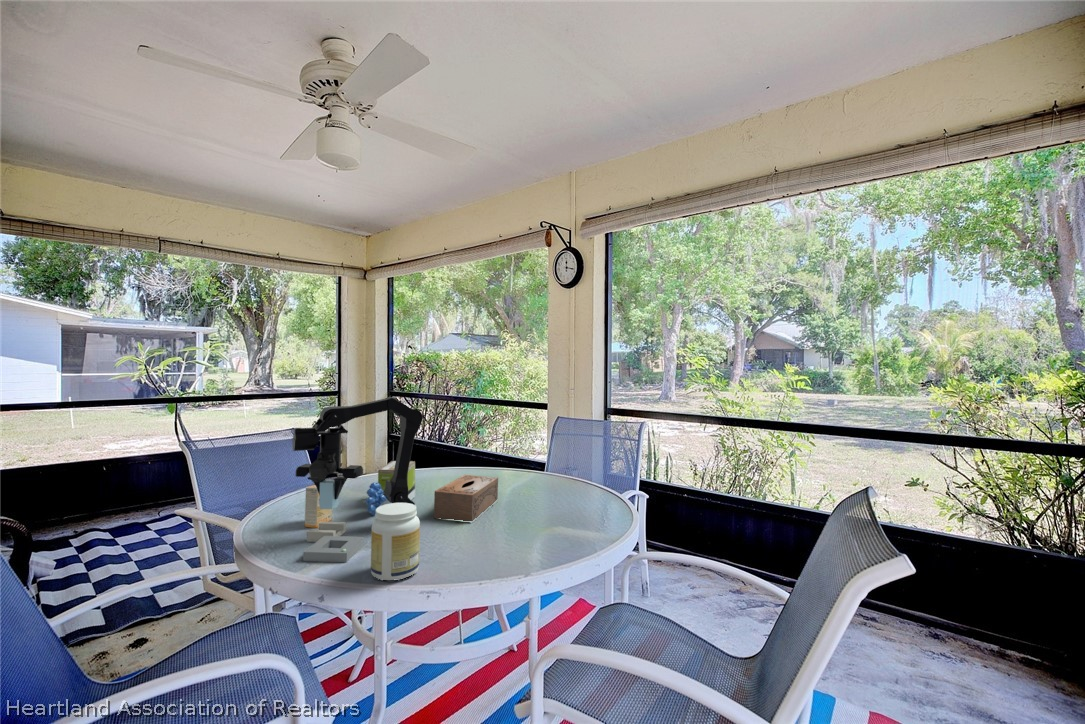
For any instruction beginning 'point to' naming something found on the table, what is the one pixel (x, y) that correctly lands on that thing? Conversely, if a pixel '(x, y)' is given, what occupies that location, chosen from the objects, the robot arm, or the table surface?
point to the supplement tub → (395, 541)
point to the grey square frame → (326, 530)
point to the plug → (327, 495)
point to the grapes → (374, 497)
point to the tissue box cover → (465, 497)
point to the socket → (333, 549)
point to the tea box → (387, 474)
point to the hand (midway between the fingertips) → (329, 498)
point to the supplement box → (315, 509)
